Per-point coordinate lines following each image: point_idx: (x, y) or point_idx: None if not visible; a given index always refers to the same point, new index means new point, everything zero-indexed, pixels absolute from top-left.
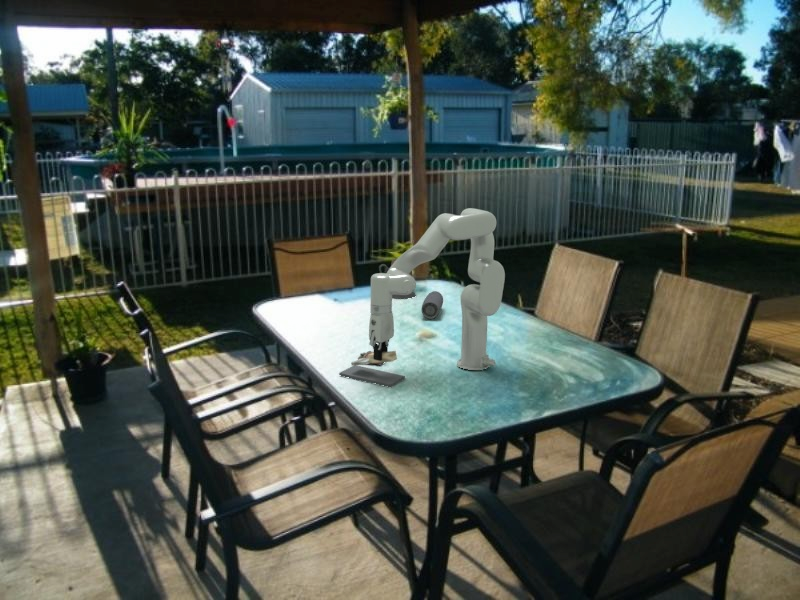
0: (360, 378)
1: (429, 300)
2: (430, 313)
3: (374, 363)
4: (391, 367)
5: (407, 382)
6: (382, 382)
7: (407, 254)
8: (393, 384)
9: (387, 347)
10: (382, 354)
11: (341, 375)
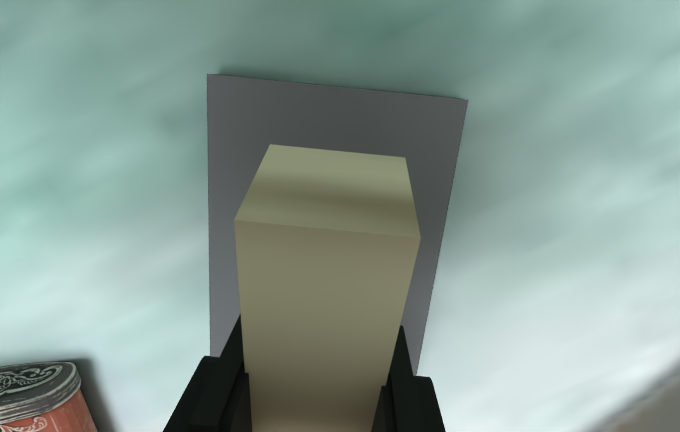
0: (416, 366)
1: None
2: None
3: (88, 410)
4: (54, 287)
5: (277, 15)
6: (448, 186)
7: None
8: (414, 94)
9: (196, 419)
10: (386, 370)
11: None
